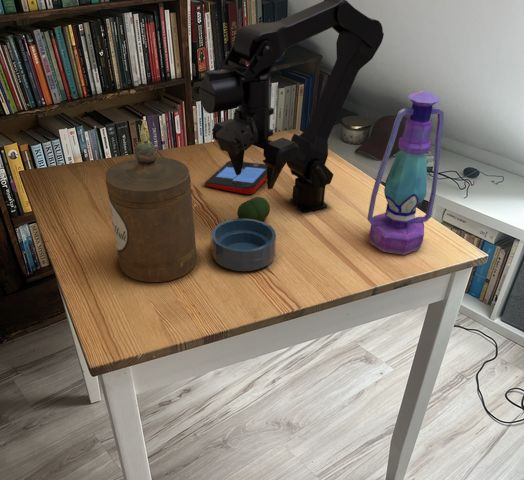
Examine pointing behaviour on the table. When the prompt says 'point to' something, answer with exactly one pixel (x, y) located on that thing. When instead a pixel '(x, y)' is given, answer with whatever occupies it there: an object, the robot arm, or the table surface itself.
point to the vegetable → (144, 140)
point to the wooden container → (152, 217)
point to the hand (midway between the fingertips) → (253, 181)
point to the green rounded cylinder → (254, 209)
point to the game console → (239, 178)
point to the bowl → (243, 244)
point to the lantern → (407, 179)
